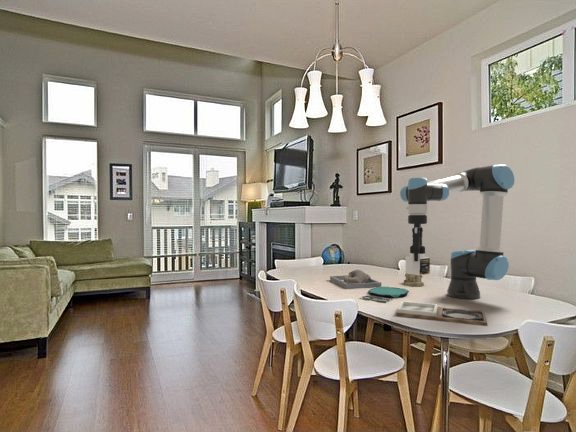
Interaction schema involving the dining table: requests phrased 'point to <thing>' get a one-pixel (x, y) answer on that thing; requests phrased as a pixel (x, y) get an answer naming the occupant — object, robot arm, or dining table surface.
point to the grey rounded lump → (356, 277)
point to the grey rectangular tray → (358, 285)
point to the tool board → (437, 313)
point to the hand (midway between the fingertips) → (417, 267)
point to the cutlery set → (385, 293)
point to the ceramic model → (413, 280)
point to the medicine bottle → (423, 263)
